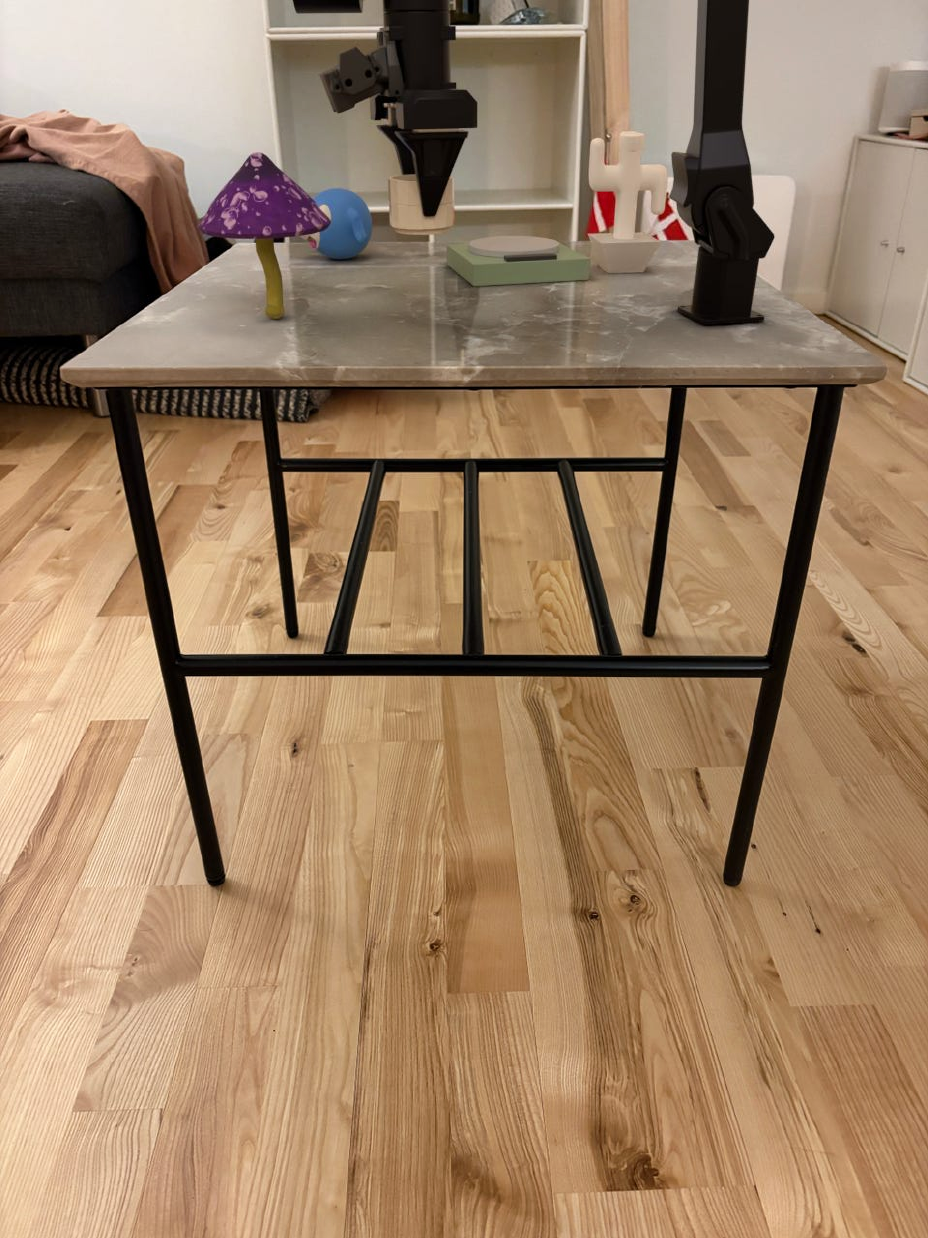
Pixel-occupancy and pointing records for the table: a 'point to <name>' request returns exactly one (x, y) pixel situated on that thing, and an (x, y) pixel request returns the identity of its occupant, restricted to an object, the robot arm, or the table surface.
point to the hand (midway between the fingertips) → (422, 211)
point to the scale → (516, 261)
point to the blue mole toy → (342, 224)
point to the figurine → (626, 203)
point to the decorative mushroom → (264, 217)
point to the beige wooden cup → (418, 208)
